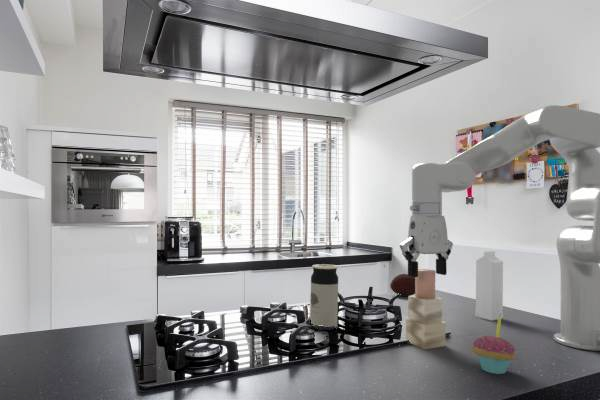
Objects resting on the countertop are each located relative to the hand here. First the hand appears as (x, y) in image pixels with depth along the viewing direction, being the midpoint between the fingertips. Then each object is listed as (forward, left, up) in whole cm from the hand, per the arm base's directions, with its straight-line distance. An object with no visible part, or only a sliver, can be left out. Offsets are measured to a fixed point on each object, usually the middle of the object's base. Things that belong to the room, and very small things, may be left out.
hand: (427, 275), depth 106 cm
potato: (+51, -36, -18) cm, 65 cm away
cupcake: (-20, -1, -18) cm, 27 cm away
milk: (+13, -40, -18) cm, 45 cm away
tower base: (0, 0, -18) cm, 18 cm away
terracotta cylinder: (0, 0, -6) cm, 6 cm away
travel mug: (+22, +18, -18) cm, 34 cm away
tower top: (0, +1, -12) cm, 12 cm away
